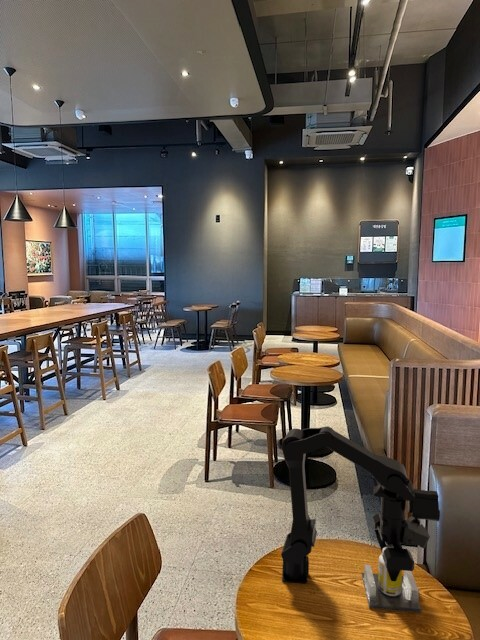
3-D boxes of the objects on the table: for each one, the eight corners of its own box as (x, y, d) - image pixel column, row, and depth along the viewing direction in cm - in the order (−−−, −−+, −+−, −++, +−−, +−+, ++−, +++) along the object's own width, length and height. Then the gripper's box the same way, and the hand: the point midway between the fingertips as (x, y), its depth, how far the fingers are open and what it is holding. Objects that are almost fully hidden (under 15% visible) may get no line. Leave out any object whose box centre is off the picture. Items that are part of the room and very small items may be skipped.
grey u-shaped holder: (421, 612, 102) (421, 595, 101) (369, 608, 103) (369, 591, 103) (408, 580, 113) (409, 564, 112) (362, 576, 114) (362, 560, 114)
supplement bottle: (405, 590, 108) (406, 552, 107) (393, 600, 104) (394, 561, 103) (385, 578, 112) (386, 541, 111) (373, 588, 108) (374, 550, 108)
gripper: (439, 538, 95) (436, 603, 97) (416, 495, 114) (413, 550, 116) (388, 535, 97) (385, 598, 99) (373, 493, 115) (371, 547, 117)
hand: (390, 571), depth 107 cm, fingers open, 6 cm apart
